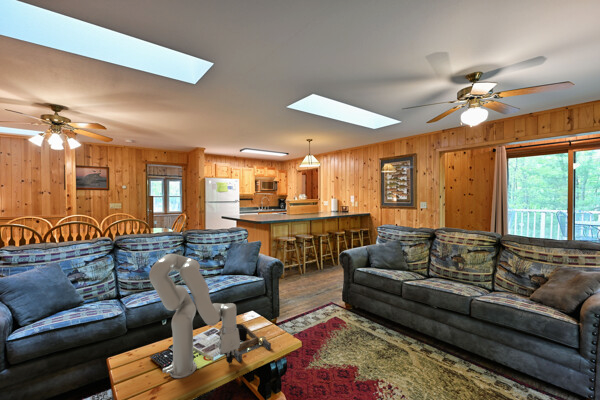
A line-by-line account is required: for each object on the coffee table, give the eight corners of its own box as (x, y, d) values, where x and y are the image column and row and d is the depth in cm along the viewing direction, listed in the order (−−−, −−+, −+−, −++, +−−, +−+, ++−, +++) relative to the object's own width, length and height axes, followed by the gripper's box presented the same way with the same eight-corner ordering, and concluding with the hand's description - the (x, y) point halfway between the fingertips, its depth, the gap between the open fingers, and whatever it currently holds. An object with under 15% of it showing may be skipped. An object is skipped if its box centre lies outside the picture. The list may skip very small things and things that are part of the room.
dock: (233, 351, 151) (233, 346, 150) (219, 335, 168) (219, 330, 168) (258, 342, 160) (258, 337, 160) (242, 327, 178) (242, 323, 178)
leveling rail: (229, 359, 144) (229, 358, 144) (227, 356, 147) (227, 354, 147) (269, 343, 159) (269, 342, 159) (266, 340, 162) (266, 339, 162)
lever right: (257, 342, 159) (257, 337, 159) (263, 340, 162) (263, 334, 162) (266, 351, 150) (266, 345, 150) (273, 348, 153) (273, 342, 153)
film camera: (251, 333, 170) (251, 320, 170) (245, 342, 161) (245, 327, 161) (229, 332, 173) (229, 318, 173) (222, 340, 163) (222, 325, 163)
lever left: (228, 353, 148) (228, 347, 148) (236, 350, 151) (236, 344, 151) (237, 363, 139) (237, 357, 139) (245, 360, 142) (244, 354, 142)
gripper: (217, 335, 131) (218, 371, 132) (245, 326, 140) (245, 360, 141) (212, 329, 137) (213, 364, 138) (239, 321, 146) (239, 353, 147)
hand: (229, 362), depth 139 cm, fingers closed
